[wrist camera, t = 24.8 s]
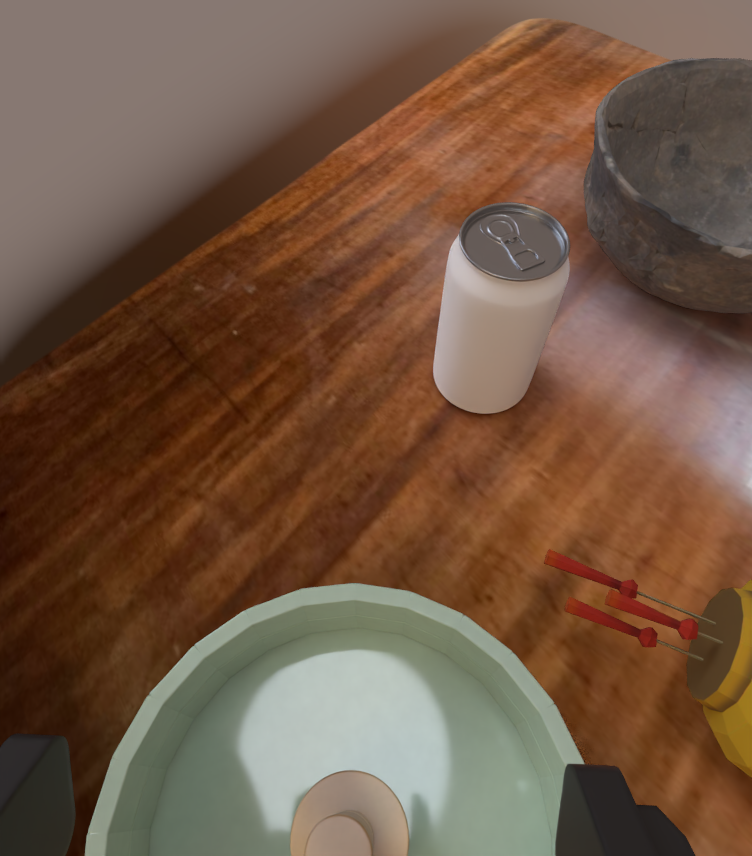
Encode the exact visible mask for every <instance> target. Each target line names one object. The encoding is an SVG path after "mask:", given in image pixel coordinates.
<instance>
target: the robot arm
mask: <svg viewBox="0 0 752 856" xmlns="http://www.w3.org/2000/svg"><path fill="white" fill-rule="evenodd" d="M74 824H75V804H74V795H73V785H72V775H71V765H70V756H69V747H68V742H67V740H66V738H65V737H63V736H55V735H36V734H14V735H12V736H10V737H9V738H8V739H7V740H6V741H5V742H4V743H3V744H2V746H1V747H0V856H65V855H66V853H67V850H68V848H69V845H70V842H71V838H72V834H73V830H74ZM555 856H695V854H694V852H693V850H692V848H691V846H690V844H689V842H688V840H687V838H686V837H685V835H684V834H683V833H682V832H681V831H680V830H679V829H678V828H677V827H676V826H675V825H674V824H673V823H672V822H671V821H670V820H669V819H668V818H667V817H666V815H665V814H664V813H663V812H662V811H661V810H660V809H659V808H658V807H657V806H649V805H636V803H635V801H634V799H633V797H632V794H631V792H630V790H629V788H628V786H627V783H626V781H625V779H624V777H623V775H622V773H621V771H620V770H619V768H618V767H616V766H608V765H589V764H567V766H566V768H565V772H564V778H563V786H562V794H561V801H560V809H559V817H558V825H557V832H556V841H555Z"/></svg>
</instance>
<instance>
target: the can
mask: <svg viewBox="0 0 752 856" xmlns="http://www.w3.org/2000/svg"><path fill="white" fill-rule="evenodd" d="M569 251H570V241H569V237H568V234H567V232H566V230H565V229H564V227H563V226H562V225H561V223H560V222H559V221H558V220H557V219H555V218H554V217H553V216H552V215H550V214H549V213H547V212H545V211H543V210H541V209H539V208H536V207H533V206H530V205H526V204H521V203H511V202H506V203H496V204H491V205H488V206H485V207H482V208H480V209H478V210H476V211H475V212H473V213H472V214H471V215H469V216H468V217H467V219H466V220H465V221H464V223H463V224H462V226H461V229H460V233H459V235H458V237H457V238H456V239H455V241H454V243H453V244H452V246H451V249H450V252H449V256H448V261H447V267H446V274H445V281H444V288H443V296H442V303H441V310H440V318H439V325H438V333H437V341H436V348H435V357H434V366H433V375H434V380H435V383H436V385H437V387H438V389H439V391H440V392H441V394H442V395H443V396H444V397H445V398H446V399H447V400H448V401H449V402H451V403H452V404H454V405H455V406H457V407H459V408H461V409H464V410H466V411H470V412H474V413H481V414H490V413H497V412H501V411H504V410H507V409H509V408H511V407H512V406H514V405H515V404H517V403H518V402H519V401H520V400H521V399H522V398H523V396H524V395H525V393H526V391H527V389H528V387H529V385H530V382H531V380H532V377H533V374H534V372H535V369H536V366H537V364H538V361H539V358H540V356H541V353H542V350H543V348H544V345H545V342H546V340H547V337H548V334H549V332H550V329H551V326H552V324H553V321H554V318H555V315H556V313H557V310H558V307H559V304H560V302H561V299H562V296H563V293H564V291H565V288H566V284H567V281H568V277H569V272H570V265H569V258H568V255H569Z"/></svg>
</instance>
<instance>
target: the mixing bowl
mask: <svg viewBox="0 0 752 856" xmlns="http://www.w3.org/2000/svg"><path fill="white" fill-rule="evenodd" d="M112 758H113V759H112V760H111V762H110V765H109V768H108V771H107V774H106V777H105V781H104V784H103V787H102V790H101V793H100V796H99V799H98V802H97V805H96V808H95V811H94V814H93V817H92V820H91V824H90V827H89V830H88V834H87V839H86V848H85V856H291V851H290V834H291V827H292V823H293V819H294V816H295V813H296V810H297V808H298V806H299V804H300V802H301V801H302V799H303V798H304V796H305V795H306V793H307V792H308V791H309V790H310V789H311V788H312V787H313V786H314V785H315V784H316V783H317V782H318V781H320V780H321V779H323V778H324V777H326V776H328V775H330V774H333V773H336V772H339V771H344V770H357V771H362V772H366V773H369V774H371V775H374V776H375V777H377V778H379V779H380V780H382V781H383V782H384V783H385V784H387V785H388V786H389V787H390V789H391V790H392V791H393V792H394V793H395V795H396V796H397V798H398V799H399V801H400V803H401V805H402V807H403V810H404V812H405V815H406V819H407V823H408V829H409V851H408V856H555V841H556V832H557V825H558V817H559V809H560V801H561V794H562V786H563V778H564V772H565V768H566V766H567V764H585V763H584V761H583V759H582V757H581V755H580V753H579V751H578V749H577V747H576V745H575V742H574V740H573V738H572V736H571V734H570V732H569V730H568V728H567V726H566V724H565V722H564V720H563V718H562V716H561V714H560V712H559V710H558V708H557V706H556V705H555V704H554V701H553V700H552V699H551V698H550V696H549V695H548V694H547V693H546V692H545V690H544V689H543V688H542V687H541V685H540V684H539V683H538V682H537V680H536V679H535V678H534V677H533V676H532V674H531V673H530V672H529V671H528V669H527V668H526V667H525V666H524V665H523V663H522V662H521V661H520V660H519V658H518V657H517V656H516V655H515V653H512V651H511V650H510V649H509V648H508V647H506V646H505V645H504V644H502V643H501V642H500V641H498V640H497V639H496V638H495V637H493V636H492V635H491V634H489V633H488V632H487V631H485V630H484V629H483V628H481V627H480V626H479V625H478V624H476V623H475V622H474V621H472V620H471V619H470V618H468V617H467V616H466V615H464V614H462V613H460V612H458V611H455V610H453V609H451V608H448V607H446V606H444V605H441V604H439V603H437V602H434V601H432V600H430V599H427V598H425V597H423V596H420V595H418V594H416V593H413V592H410V591H406V590H399V589H392V588H386V587H379V586H372V585H366V584H359V583H356V584H355V583H350V584H341V585H332V586H323V587H314V588H304V589H300V590H296V591H294V592H291V593H289V594H286V595H283V596H281V597H278V598H275V599H273V600H270V601H267V602H265V603H262V604H259V605H257V606H254V607H252V608H249V609H247V610H246V611H243V612H241V613H240V614H238V615H237V616H235V617H234V618H232V619H231V620H230V621H228V622H227V623H225V624H224V625H222V626H221V627H219V628H218V629H216V630H215V631H214V632H212V633H211V634H209V635H208V636H206V637H205V638H203V639H202V640H200V641H199V642H198V643H196V644H195V646H193V647H192V648H191V649H190V650H189V651H188V652H187V653H186V654H185V655H184V656H183V657H182V659H181V660H180V661H179V662H178V663H177V664H176V665H175V666H174V667H173V668H172V669H171V671H170V672H169V673H168V674H167V675H166V676H165V677H164V678H163V679H162V680H161V682H160V683H159V684H158V685H157V686H156V687H155V688H154V689H153V690H152V691H151V692H150V694H149V695H148V696H147V698H146V699H145V701H144V703H143V704H142V706H141V708H140V710H139V711H138V713H137V715H136V717H135V718H134V720H133V722H132V723H131V725H130V727H129V729H128V730H127V732H126V734H125V736H124V737H123V739H122V741H121V742H120V744H119V746H118V748H117V749H116V751H115V753H114V755H113V756H112Z"/></svg>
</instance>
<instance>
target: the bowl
mask: <svg viewBox="0 0 752 856" xmlns="http://www.w3.org/2000/svg"><path fill="white" fill-rule="evenodd" d="M584 198H585V207H586V212H587V225H588V229H589V232H590V233H591V235H592V236H593V238H594V239H595V240H596V241H597V242H598V243H599V245H600V247H601V248H602V250H603V251H604V252H605V254H606V255H607V256H608V257H609V258H610V260H611V261H612V262H613V264H614V265H615V266H616V268H617V269H618V270H620V271H621V272H622V273H623V275H624V276H625V277H626V278H628V279H629V280H630V281H631V282H633V283H634V284H635V285H637V286H638V287H640V288H641V289H642V290H644V291H646V292H647V293H649V294H651V295H654V296H657V297H659V298H661V299H662V300H665V301H668V302H671V303H673V304H676V305H679V306H682V307H686V308H690V309H695V310H704V311H715V312H719V313H752V60H745V59H719V58H711V59H679V60H673V61H669V62H666V63H663V64H660V65H658V66H655V67H652V68H649V69H646V70H643V71H641V72H639V73H636V74H634V75H632V76H630V77H628V78H627V79H625V80H624V81H622V82H621V83H619V84H618V85H617V86H616V87H614V88H613V89H612V90H611V91H610V92H609V93H608V94H607V95H606V96H605V97H604V98H603V100H602V102H601V103H600V105H599V106H598V108H597V110H596V117H595V140H594V150H593V154H592V157H591V161H590V163H589V165H588V168H587V172H586V175H585V179H584Z"/></svg>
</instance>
